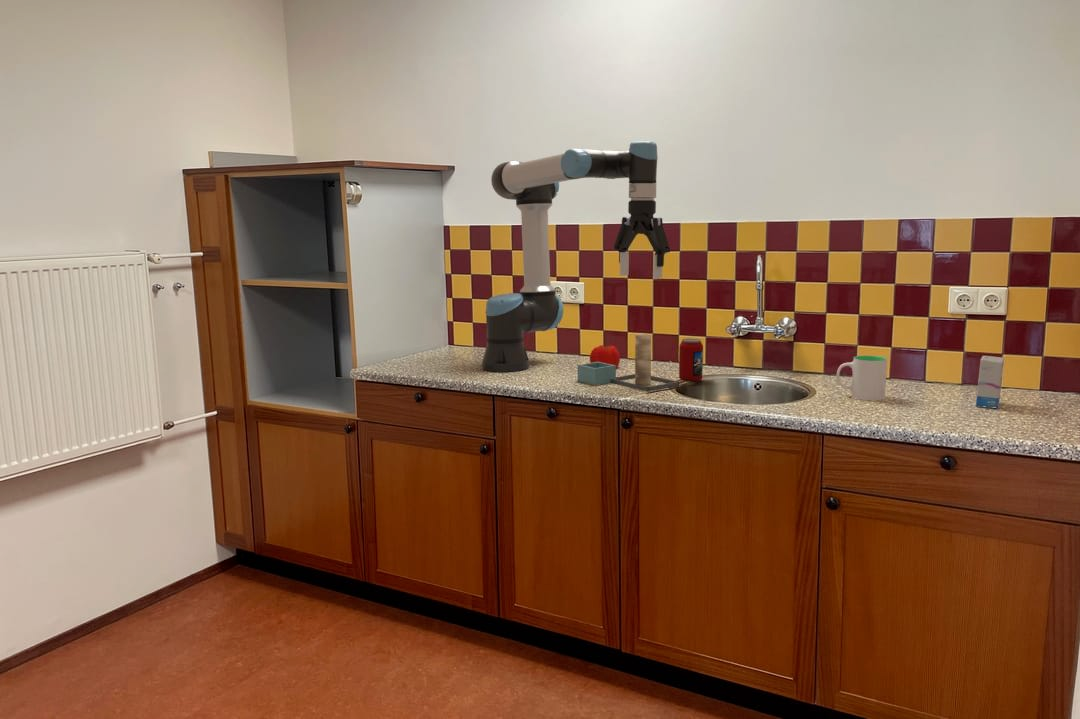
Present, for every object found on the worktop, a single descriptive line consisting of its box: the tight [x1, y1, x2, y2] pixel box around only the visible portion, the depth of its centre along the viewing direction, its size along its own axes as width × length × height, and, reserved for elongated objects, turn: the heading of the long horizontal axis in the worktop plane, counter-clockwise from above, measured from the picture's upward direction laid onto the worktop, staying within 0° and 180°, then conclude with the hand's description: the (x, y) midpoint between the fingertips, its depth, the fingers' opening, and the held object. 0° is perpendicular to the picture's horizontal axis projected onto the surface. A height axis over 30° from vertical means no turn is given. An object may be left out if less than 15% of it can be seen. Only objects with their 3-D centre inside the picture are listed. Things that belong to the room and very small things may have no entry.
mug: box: [836, 355, 888, 401], centre depth 210 cm, size 12×8×10 cm
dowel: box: [634, 333, 652, 386], centre depth 226 cm, size 4×4×14 cm
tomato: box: [589, 344, 621, 369], centre depth 252 cm, size 9×9×8 cm
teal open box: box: [576, 362, 617, 386], centre depth 231 cm, size 8×8×6 cm
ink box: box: [975, 355, 1005, 409], centre depth 199 cm, size 9×5×12 cm, turn 148°
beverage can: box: [678, 338, 704, 383], centre depth 233 cm, size 7×7×12 cm
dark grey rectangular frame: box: [611, 373, 680, 395], centre depth 227 cm, size 16×12×2 cm
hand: (640, 277), depth 225 cm, fingers open, 13 cm apart
